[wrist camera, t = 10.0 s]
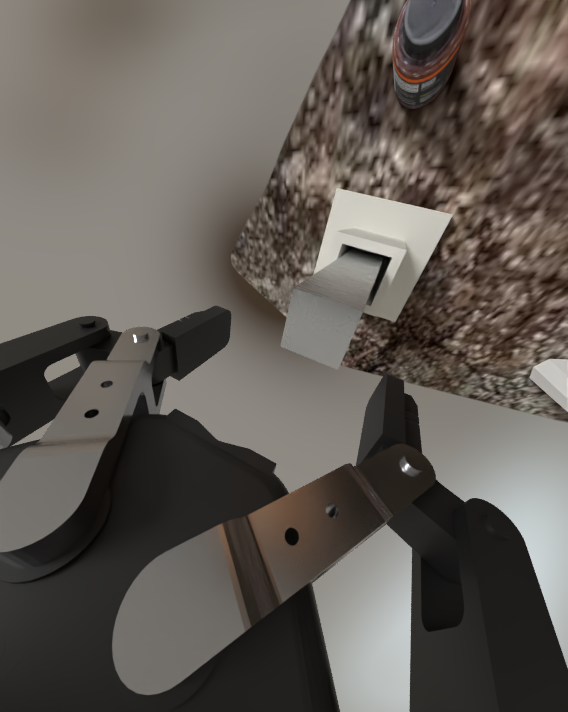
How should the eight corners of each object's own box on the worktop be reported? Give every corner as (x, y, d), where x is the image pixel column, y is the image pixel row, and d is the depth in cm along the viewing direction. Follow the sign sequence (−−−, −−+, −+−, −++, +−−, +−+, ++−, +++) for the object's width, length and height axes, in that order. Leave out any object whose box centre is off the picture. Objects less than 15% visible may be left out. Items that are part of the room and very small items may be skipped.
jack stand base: (450, 214, 31) (483, 212, 19) (395, 319, 40) (393, 361, 28) (338, 189, 35) (307, 173, 23) (311, 290, 44) (278, 317, 32)
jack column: (384, 256, 29) (362, 311, 12) (370, 289, 32) (335, 375, 15) (353, 248, 30) (293, 287, 13) (342, 281, 33) (279, 351, 15)
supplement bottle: (433, 16, 24) (453, -101, 16) (466, 64, 25) (504, -22, 16) (383, 84, 28) (376, 21, 19) (413, 124, 29) (420, 82, 20)
